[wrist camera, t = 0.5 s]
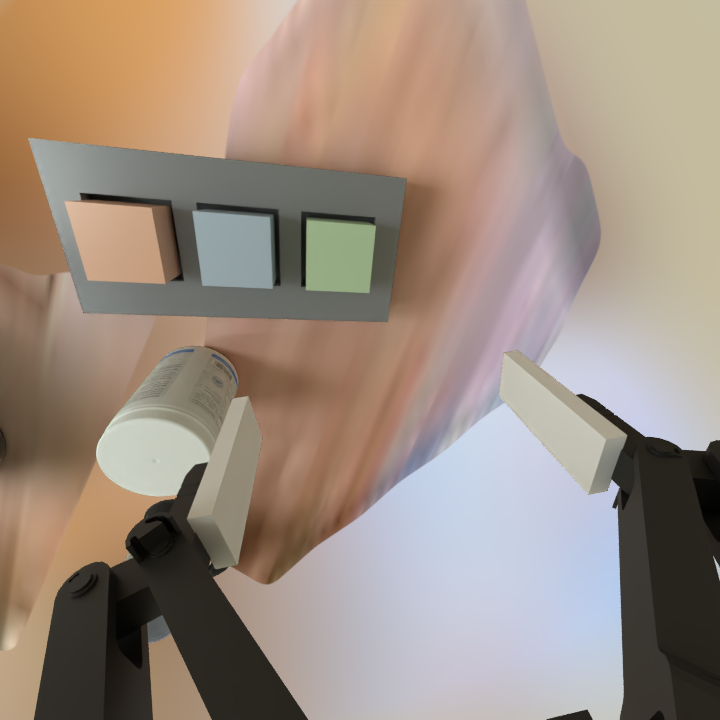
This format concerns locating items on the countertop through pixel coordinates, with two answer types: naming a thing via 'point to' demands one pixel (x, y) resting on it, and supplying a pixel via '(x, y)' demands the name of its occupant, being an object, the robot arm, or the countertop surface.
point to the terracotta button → (125, 241)
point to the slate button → (236, 248)
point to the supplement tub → (169, 422)
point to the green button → (339, 255)
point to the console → (234, 193)
